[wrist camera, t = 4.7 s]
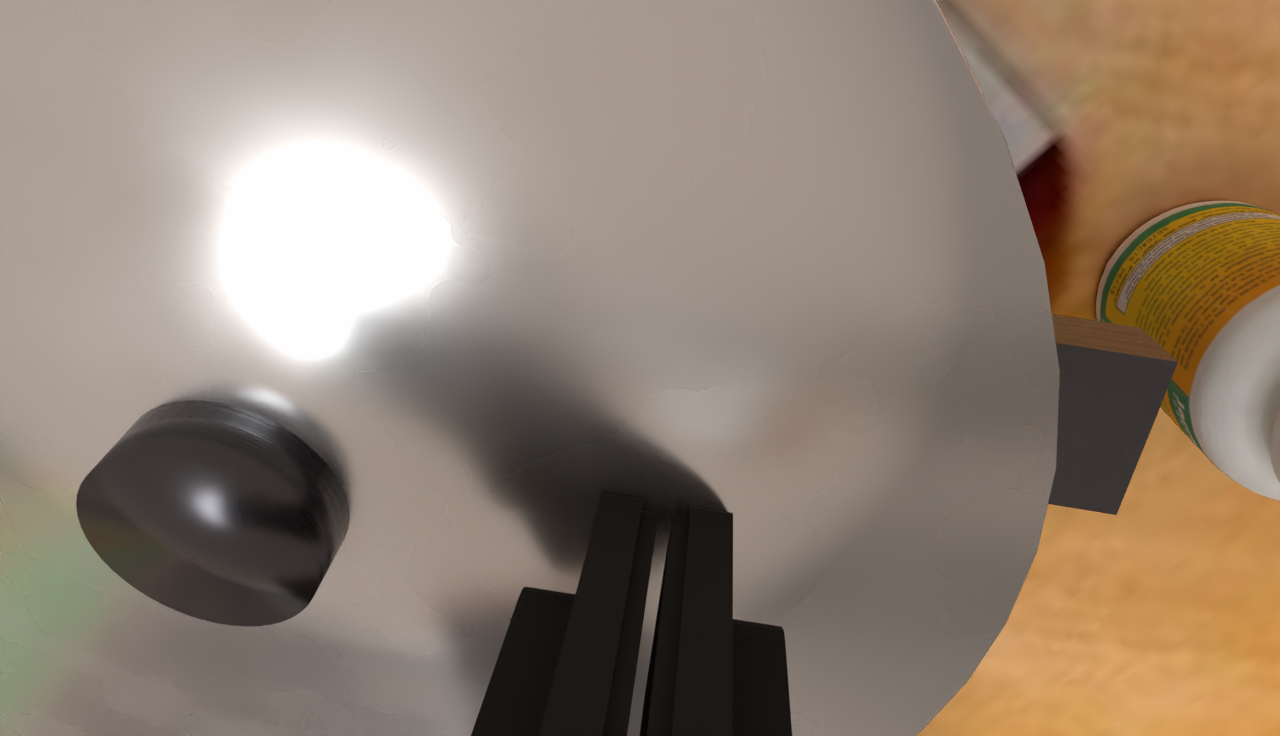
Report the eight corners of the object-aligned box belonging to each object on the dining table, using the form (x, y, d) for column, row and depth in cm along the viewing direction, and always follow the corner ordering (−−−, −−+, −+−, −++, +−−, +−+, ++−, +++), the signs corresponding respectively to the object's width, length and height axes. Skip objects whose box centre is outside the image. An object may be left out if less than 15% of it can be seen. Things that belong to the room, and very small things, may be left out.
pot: (1112, -146, 21) (1497, -273, 10) (904, 553, 29) (996, 895, 19) (19, -287, 23) (-663, -531, 12) (110, 419, 31) (-243, 663, 20)
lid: (1447, -412, 6) (1719, -458, 5) (826, 872, 19) (830, 1007, 17) (-1052, -692, 7) (-1685, -824, 6) (-99, 698, 20) (-197, 806, 18)
